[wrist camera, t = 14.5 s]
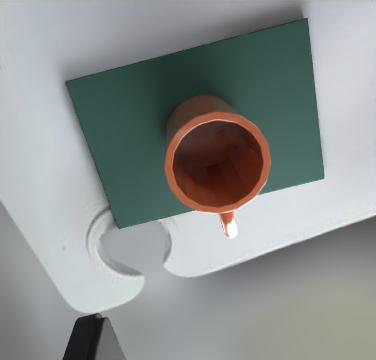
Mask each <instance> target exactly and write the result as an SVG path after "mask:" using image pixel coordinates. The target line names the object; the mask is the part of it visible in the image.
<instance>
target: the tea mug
mask: <svg viewBox="0 0 376 360" xmlns="http://www.w3.org/2000/svg"><path fill="white" fill-rule="evenodd" d="M270 165H271V158H270V152H269V146H268V142H267V140H266V139H265V137H264V136H263V134H262V133H261V131H260V130H259V128H258V127H257V126H256V125H255V124H254V123H253V122H251V121H250V120H249V119H248V118H247V117H245V116H244V115H243V114H242V113H241V112H239V111H238V110H237V109H236V108H235V107H233V106H232V105H231V104H229V103H228V102H226V101H225V100H223V99H221V98H219V97H216V96H212V95H198V96H194V97H191V98H189V99H187V100H185V101H183V102H182V103H180V104H179V105H178V106H177V107H176V108H175V109H174V111H173V112H172V114H171V116H170V118H169V120H168V122H167V127H166V135H165V157H164V171H165V174H166V178H167V181H168V185H169V187H170V189H171V190H172V191H173V193H174V194H175V195H176V196H177V198H178V199H179V200H180V201H181V202H182V203H183V204H185V205H187V206H189V207H191V208H193V209H195V210H197V211H199V212H205V213H214V214H219V217H220V220H221V223H222V226H223V230H224V233H225V235H226V236H227V237H229V238H233V237H235V236H236V235H237V233H238V228H237V224H236V219H235V215H234V210H237V209H239V208H241V207H242V206H244V205H245V204H247V203H248V202H250V201H251V200H253V199H254V198H255V197H256V196H257V194H258V193H259V192H260V190H261V189H262V187H263V186H264V185H265V183H266V181H267V178H268V173H269V169H270Z"/></svg>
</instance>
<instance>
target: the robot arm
mask: <svg viewBox="0 0 376 360" xmlns="http://www.w3.org/2000/svg"><path fill="white" fill-rule="evenodd" d="M63 360H126V358H125V356H124V353H123V351H122V348H121V346H120V344H119V341H118V339H117V337H116V334H115V332H114V330H113V327H112V325H111V322H110V320H109V318H108V317H104V318H102V316H101V314H99V313H97V314H92V315H88V316H84V317H80V318H78V319H77V320H76V322H75V325H74V328H73V331H72V334H71V336H70V340H69V342H68V346H67V348H66V351H65V354H64V357H63Z"/></svg>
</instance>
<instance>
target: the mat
mask: <svg viewBox="0 0 376 360" xmlns="http://www.w3.org/2000/svg"><path fill="white" fill-rule="evenodd" d="M65 83H66V86H67V88H68V91H69V94H70V97H71V99H72V102H73V105H74V108H75V110H76V113H77V116H78V119H79V121H80V124H81V127H82V130H83V132H84V135H85V138H86V141H87V143H88V146H89V149H90V152H91V154H92V157H93V160H94V163H95V165H96V168H97V171H98V174H99V176H100V179H101V182H102V185H103V187H104V190H105V193H106V196H107V198H108V201H109V204H110V206H111V209H112V212H113V215H114V217H115V220H116V223H117V226H118V228H119V229H121V228H125V227H129V226H133V225H137V224H141V223H146V222H149V221H154V220H158V219H162V218H166V217H170V216H174V215H178V214H182V213H186V212H190V211H195V209H193V208H191V207H189V206H187V205H185V204H183V203H182V202H181V201H180V200H179V199H178V198H177V196H176V195H175V194H174V193H173V191H172V190H171V189H170V187H169V185H168V181H167V178H166V174H165V171H164V157H165V135H166V127H167V122H168V120H169V118H170V116H171V114H172V112H173V111H174V109H175V108H176V107H177V106H178V105H179V104H180V103H182V102H183V101H185V100H187V99H189V98H191V97H194V96H198V95H212V96H216V97H219V98H221V99H223V100H225V101H226V102H228V103H229V104H231V105H232V106H233V107H235V108H236V109H237V110H238V111H239V112H241V113H242V114H243V115H244V116H245V117H247V118H248V119H249V120H250V121H251V122H253V123H254V124H255V125H256V126H257V127H258V128H259V130H260V131H261V133H262V134H263V136H264V137H265V139H266V140H267V142H268V146H269V152H270V158H271V165H270V169H269V173H268V178H267V181H266V183H265V185H264V186H263V187H262V189H261V190H260V192H259V193H258V194H257V195H260V194H264V193H268V192H272V191H276V190H280V189H284V188H288V187H292V186H296V185H300V184H305V183H309V182H313V181H317V180H321V179H324V169H323V160H322V150H321V141H320V131H319V122H318V112H317V103H316V93H315V83H314V74H313V64H312V55H311V45H310V36H309V26H308V18H305V19H301V20H297V21H294V22H290V23H286V24H282V25H278V26H275V27H271V28H267V29H263V30H259V31H256V32H252V33H248V34H244V35H240V36H237V37H233V38H229V39H225V40H221V41H218V42H214V43H210V44H206V45H202V46H199V47H195V48H191V49H187V50H183V51H180V52H176V53H172V54H168V55H164V56H160V57H157V58H153V59H149V60H145V61H141V62H138V63H134V64H130V65H126V66H122V67H119V68H115V69H111V70H107V71H103V72H100V73H96V74H92V75H88V76H84V77H81V78H77V79H73V80H69V81H66V82H65Z"/></svg>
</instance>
